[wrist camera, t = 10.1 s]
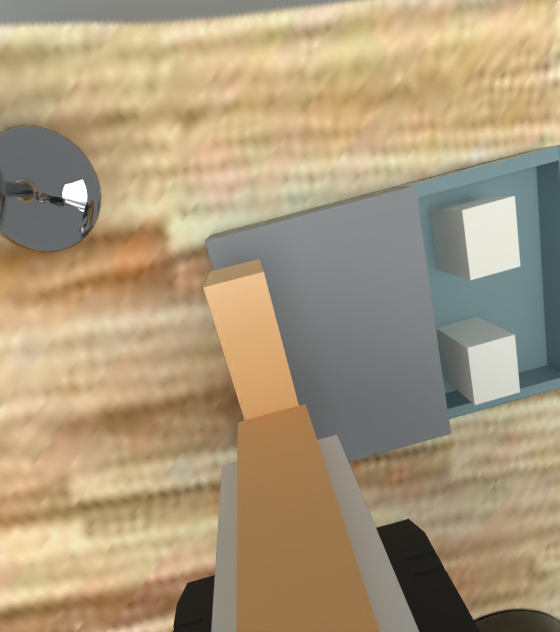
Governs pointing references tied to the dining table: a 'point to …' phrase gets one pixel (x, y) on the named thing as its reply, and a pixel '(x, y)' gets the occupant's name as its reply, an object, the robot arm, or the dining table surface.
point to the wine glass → (45, 190)
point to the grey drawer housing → (353, 316)
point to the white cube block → (479, 359)
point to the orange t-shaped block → (281, 480)
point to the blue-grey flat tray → (511, 285)
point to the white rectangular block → (476, 236)
